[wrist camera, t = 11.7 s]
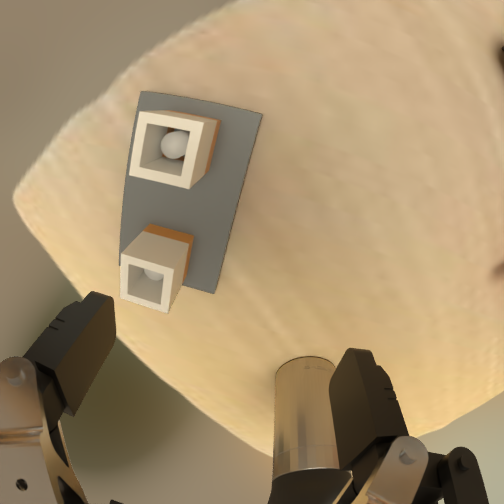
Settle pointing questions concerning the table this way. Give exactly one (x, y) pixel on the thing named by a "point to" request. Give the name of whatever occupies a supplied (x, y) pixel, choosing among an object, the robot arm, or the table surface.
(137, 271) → the pin board
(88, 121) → the table surface
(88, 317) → the robot arm
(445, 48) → the table surface
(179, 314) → the table surface
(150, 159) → the sleeve
